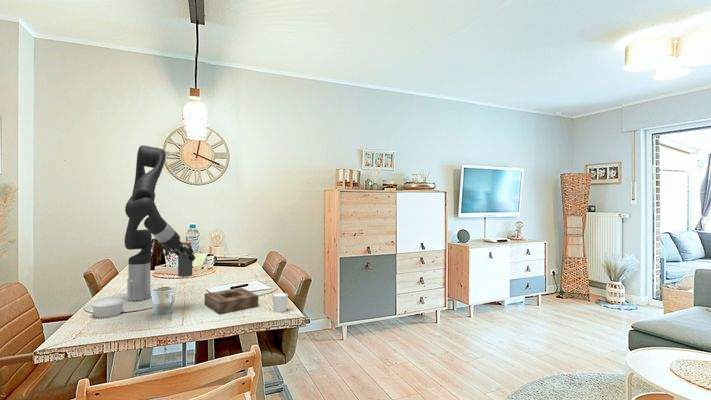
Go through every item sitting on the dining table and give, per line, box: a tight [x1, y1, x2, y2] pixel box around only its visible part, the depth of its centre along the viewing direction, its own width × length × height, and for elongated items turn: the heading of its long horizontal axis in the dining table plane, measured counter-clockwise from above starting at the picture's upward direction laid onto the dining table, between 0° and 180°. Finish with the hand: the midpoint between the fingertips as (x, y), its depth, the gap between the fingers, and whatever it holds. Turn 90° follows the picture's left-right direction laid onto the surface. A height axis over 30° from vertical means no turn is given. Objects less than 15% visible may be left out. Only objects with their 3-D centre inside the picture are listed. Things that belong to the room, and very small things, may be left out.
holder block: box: [203, 287, 259, 315], centre depth 171 cm, size 18×18×5 cm
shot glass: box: [272, 292, 289, 313], centre depth 165 cm, size 7×7×7 cm
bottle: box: [177, 241, 194, 278], centre depth 167 cm, size 6×6×15 cm
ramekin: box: [91, 298, 125, 319], centre depth 157 cm, size 11×11×5 cm
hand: (188, 258), depth 169 cm, fingers closed on bottle, 5 cm apart
